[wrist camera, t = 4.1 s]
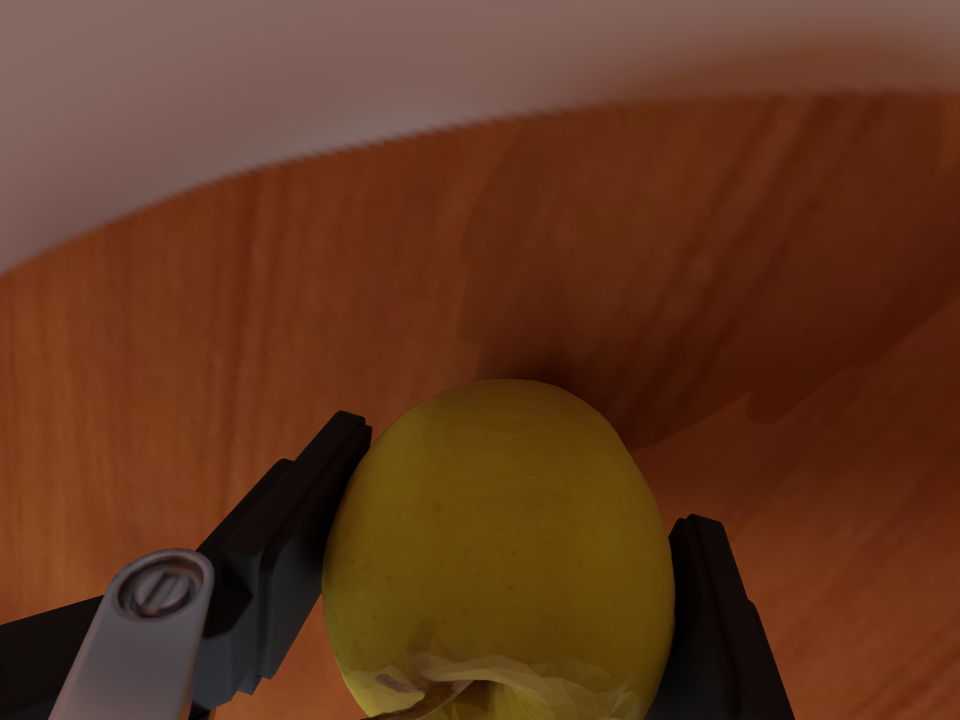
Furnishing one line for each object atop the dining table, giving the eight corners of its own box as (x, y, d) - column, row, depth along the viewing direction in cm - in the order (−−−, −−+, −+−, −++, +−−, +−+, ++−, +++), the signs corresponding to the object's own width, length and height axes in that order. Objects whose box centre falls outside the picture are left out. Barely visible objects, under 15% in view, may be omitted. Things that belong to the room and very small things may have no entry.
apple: (378, 340, 13) (130, 600, 6) (639, 311, 12) (723, 614, 4) (433, 536, 16) (302, 885, 8) (655, 533, 14) (725, 961, 7)
